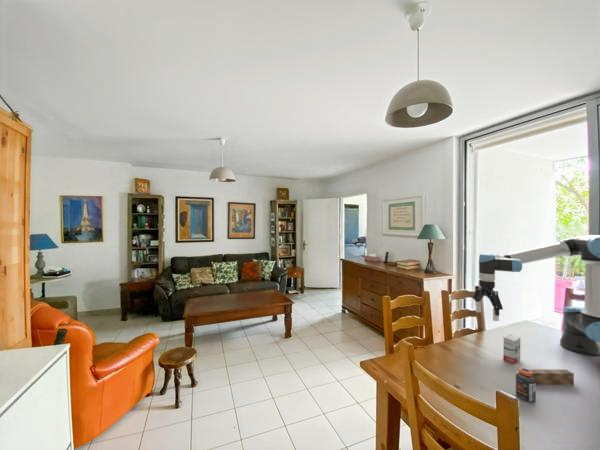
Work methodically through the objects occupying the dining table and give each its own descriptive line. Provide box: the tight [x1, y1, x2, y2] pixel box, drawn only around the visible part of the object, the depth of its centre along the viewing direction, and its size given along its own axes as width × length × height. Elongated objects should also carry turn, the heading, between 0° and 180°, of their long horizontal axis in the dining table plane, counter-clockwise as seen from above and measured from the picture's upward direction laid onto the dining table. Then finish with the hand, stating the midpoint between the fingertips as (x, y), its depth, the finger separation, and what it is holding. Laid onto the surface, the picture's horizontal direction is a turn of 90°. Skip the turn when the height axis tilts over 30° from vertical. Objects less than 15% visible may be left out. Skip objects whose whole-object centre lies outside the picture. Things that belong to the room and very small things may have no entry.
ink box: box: [502, 333, 521, 365], centre depth 128 cm, size 8×5×12 cm, turn 123°
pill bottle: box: [515, 367, 537, 404], centre depth 99 cm, size 6×6×11 cm
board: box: [527, 368, 575, 386], centre depth 109 cm, size 19×3×5 cm, turn 89°
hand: (486, 316), depth 145 cm, fingers open, 13 cm apart
